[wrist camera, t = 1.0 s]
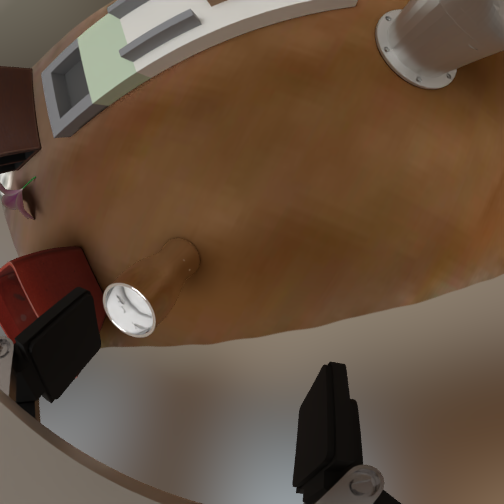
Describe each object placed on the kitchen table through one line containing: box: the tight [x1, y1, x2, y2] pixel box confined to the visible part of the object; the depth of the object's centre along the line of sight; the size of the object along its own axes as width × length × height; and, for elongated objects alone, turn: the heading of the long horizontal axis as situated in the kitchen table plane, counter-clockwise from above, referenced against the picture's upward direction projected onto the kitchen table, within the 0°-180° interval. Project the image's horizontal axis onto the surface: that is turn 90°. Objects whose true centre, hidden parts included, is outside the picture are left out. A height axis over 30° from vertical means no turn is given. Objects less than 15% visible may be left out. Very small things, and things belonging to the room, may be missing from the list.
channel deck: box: [41, 0, 358, 138], centre depth 23 cm, size 48×14×7 cm, turn 111°
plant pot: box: [0, 246, 106, 378], centre depth 37 cm, size 19×19×17 cm
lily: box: [0, 176, 36, 220], centre depth 37 cm, size 12×12×10 cm
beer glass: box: [103, 238, 200, 337], centre depth 32 cm, size 7×7×15 cm
